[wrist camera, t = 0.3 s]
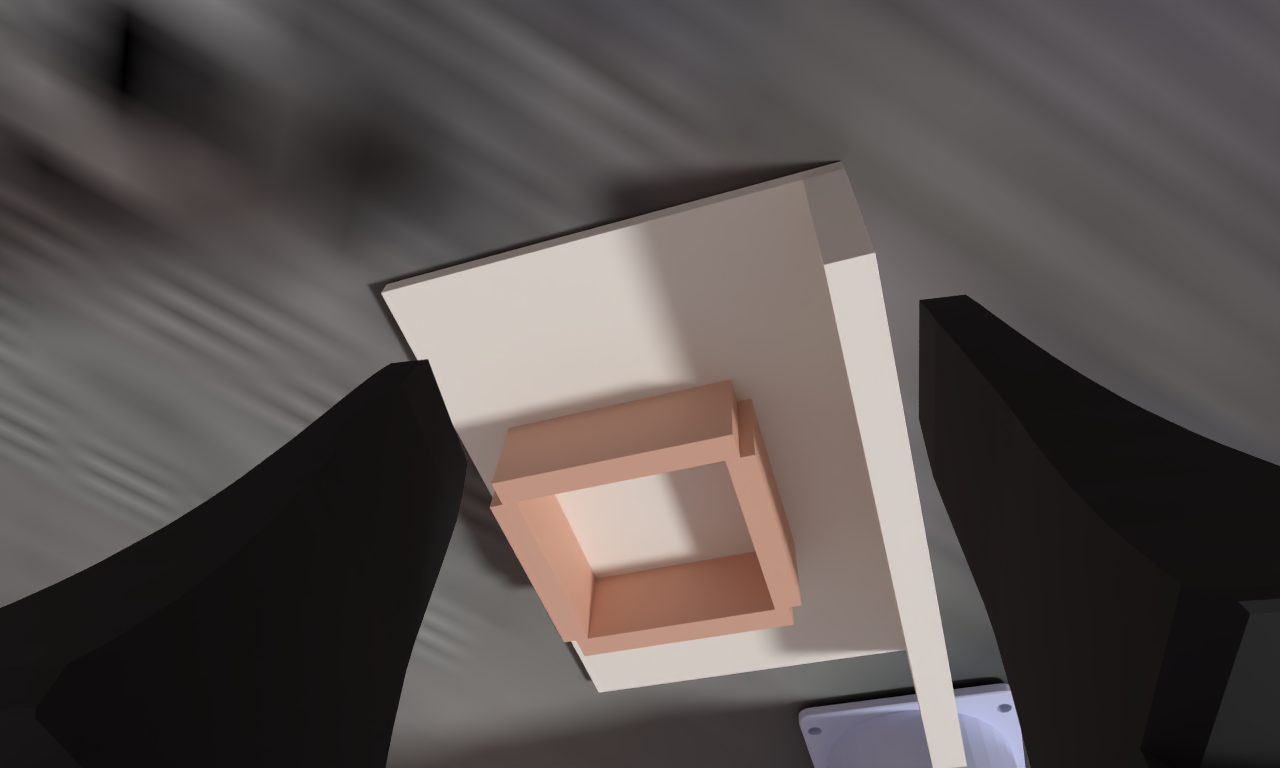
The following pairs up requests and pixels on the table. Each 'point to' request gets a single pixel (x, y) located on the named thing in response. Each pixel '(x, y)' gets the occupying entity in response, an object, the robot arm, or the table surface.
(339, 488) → the robot arm
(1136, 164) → the table surface
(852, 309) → the cup bracket
